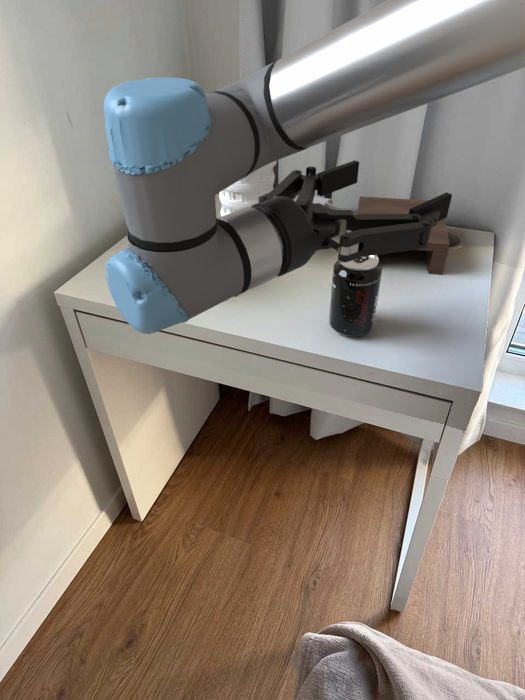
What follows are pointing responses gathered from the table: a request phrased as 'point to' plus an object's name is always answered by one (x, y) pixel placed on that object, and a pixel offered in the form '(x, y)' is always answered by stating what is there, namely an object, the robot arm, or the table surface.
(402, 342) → the table surface
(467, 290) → the table surface
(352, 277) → the beverage can
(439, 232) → the shelf
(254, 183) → the decorative container
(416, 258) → the table surface
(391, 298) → the table surface
